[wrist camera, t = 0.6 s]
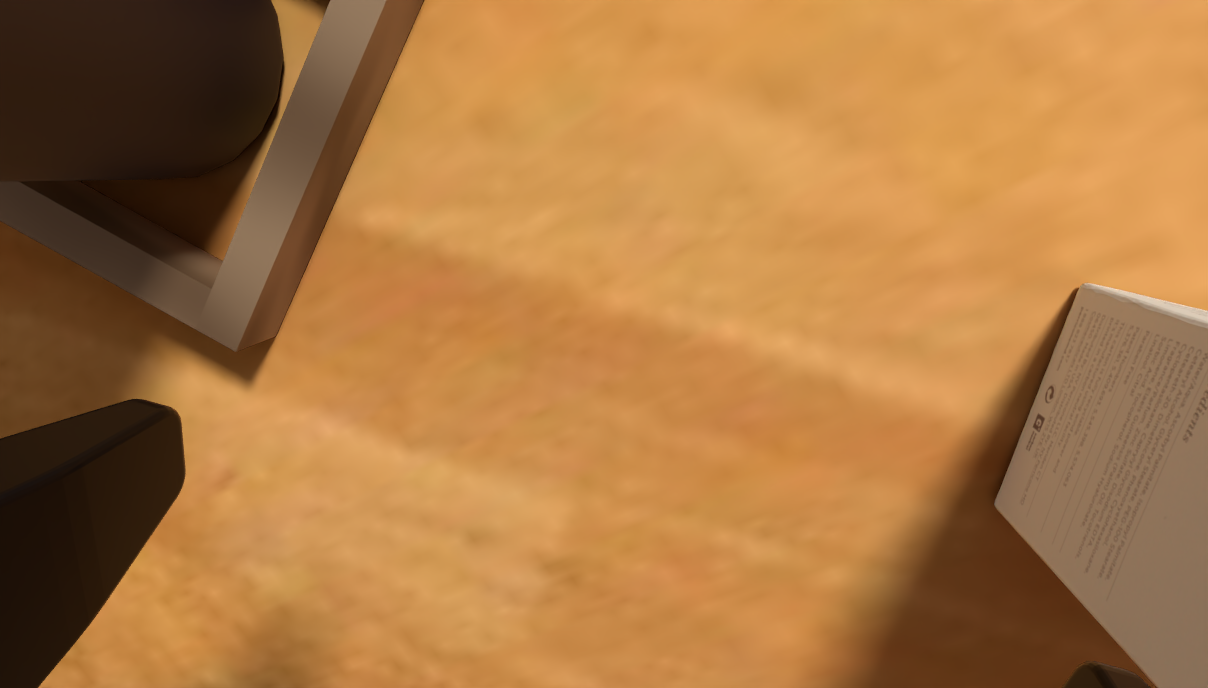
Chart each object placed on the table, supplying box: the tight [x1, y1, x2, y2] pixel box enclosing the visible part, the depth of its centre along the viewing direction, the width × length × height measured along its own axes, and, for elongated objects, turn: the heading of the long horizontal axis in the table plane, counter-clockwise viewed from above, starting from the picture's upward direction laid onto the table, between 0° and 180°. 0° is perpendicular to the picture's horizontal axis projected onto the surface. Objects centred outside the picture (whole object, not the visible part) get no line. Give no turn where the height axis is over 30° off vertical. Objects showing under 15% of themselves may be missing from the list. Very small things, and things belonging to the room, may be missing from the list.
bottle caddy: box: [0, 0, 423, 352], centre depth 20 cm, size 11×11×2 cm
